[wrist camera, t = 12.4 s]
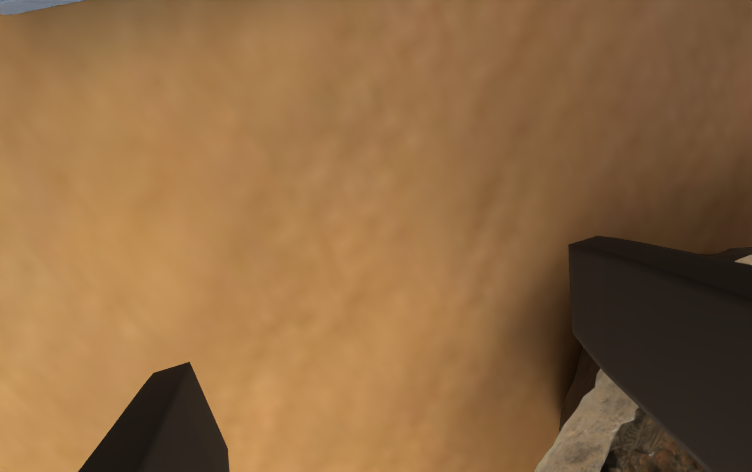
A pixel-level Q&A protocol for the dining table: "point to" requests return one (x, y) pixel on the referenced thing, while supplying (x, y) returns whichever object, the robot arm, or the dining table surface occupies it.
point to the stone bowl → (615, 424)
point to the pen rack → (29, 5)
